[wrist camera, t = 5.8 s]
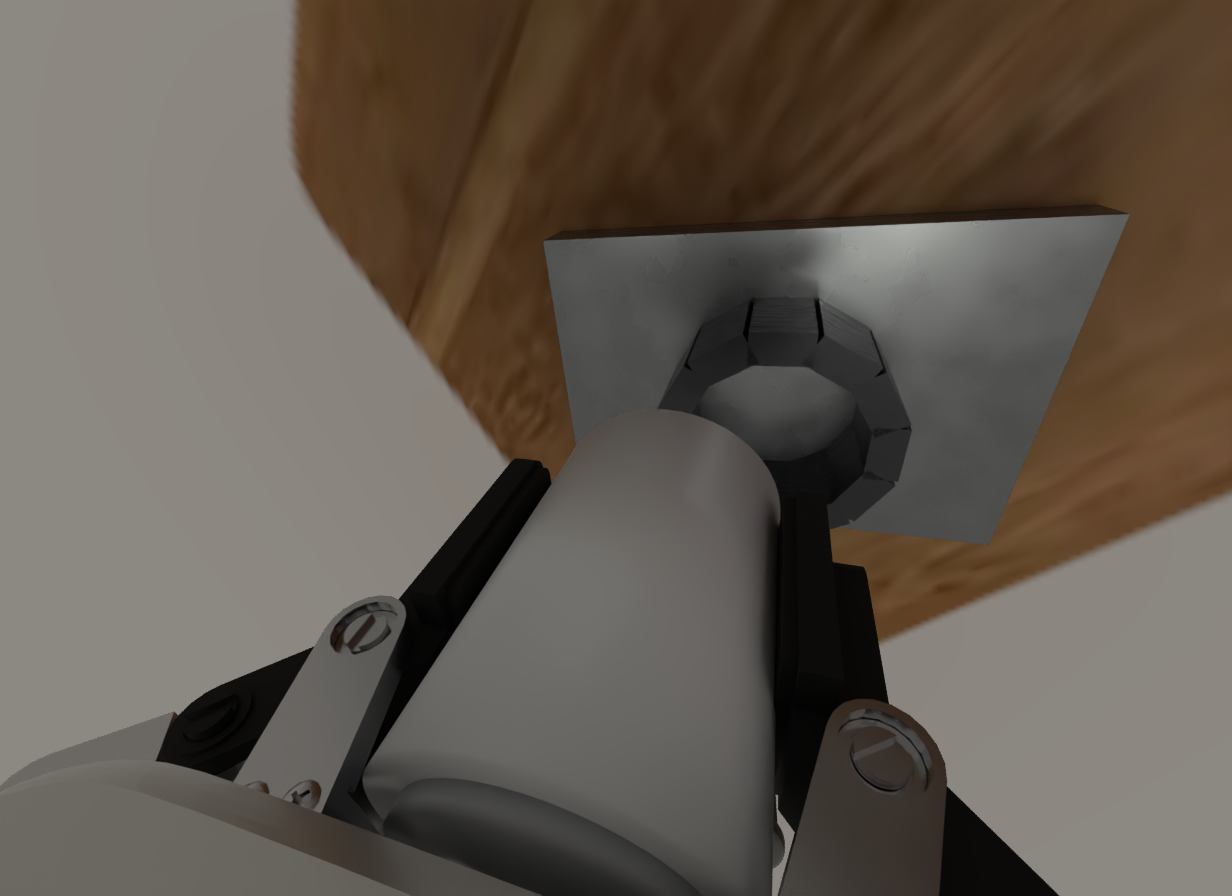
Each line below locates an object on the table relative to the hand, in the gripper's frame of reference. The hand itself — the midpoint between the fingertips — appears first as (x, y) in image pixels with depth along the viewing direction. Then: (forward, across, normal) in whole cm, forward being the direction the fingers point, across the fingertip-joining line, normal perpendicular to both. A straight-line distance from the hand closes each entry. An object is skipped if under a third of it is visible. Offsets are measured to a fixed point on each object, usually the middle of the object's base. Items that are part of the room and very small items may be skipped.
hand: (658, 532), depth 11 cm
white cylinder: (+1, 0, 0) cm, 1 cm away
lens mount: (+15, -2, +3) cm, 15 cm away
